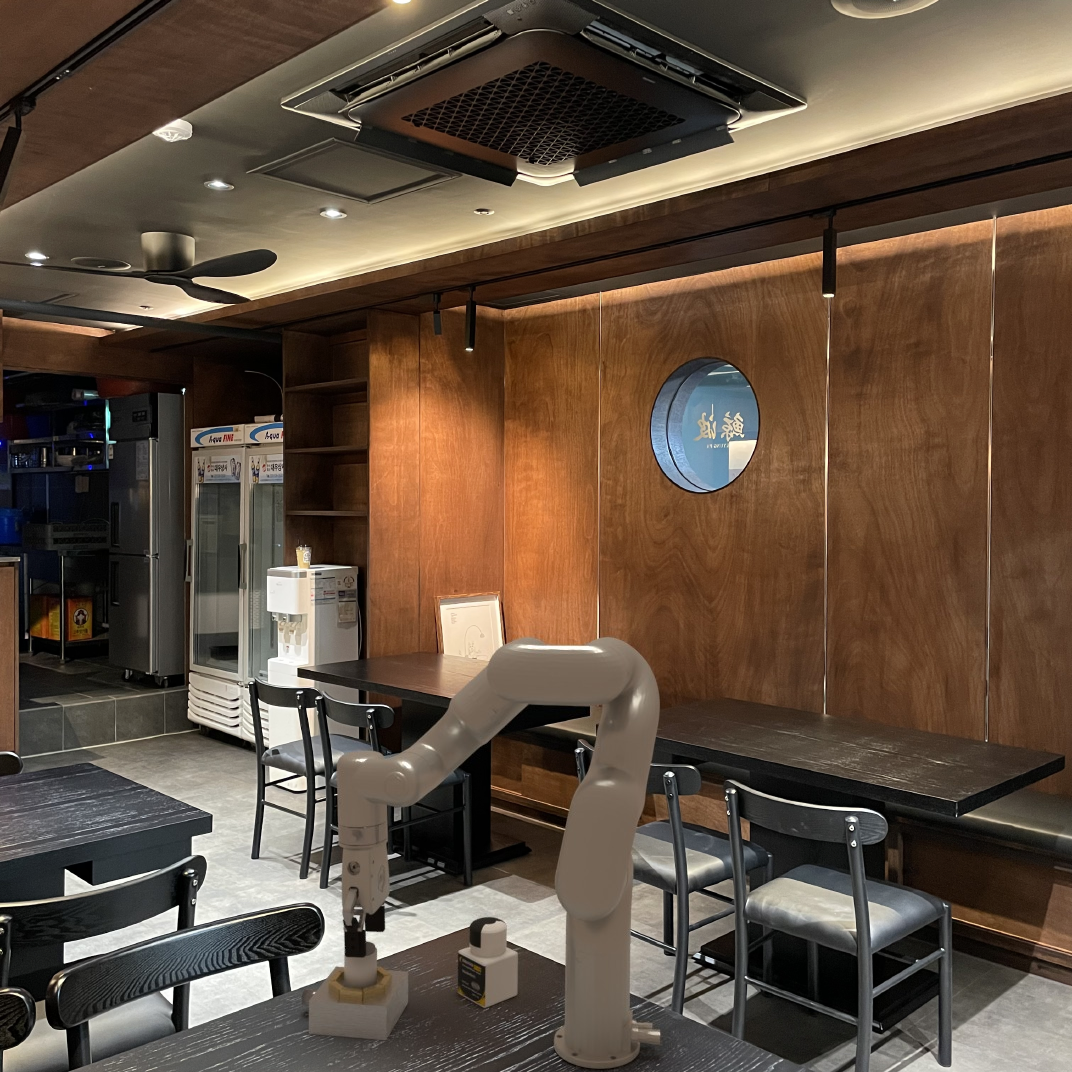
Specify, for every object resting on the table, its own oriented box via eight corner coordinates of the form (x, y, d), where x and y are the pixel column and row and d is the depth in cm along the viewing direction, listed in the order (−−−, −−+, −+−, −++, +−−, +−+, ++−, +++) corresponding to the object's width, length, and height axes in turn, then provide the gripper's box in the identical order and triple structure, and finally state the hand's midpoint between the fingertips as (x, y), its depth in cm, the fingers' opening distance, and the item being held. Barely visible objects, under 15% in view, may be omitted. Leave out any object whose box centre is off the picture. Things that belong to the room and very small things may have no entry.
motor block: (407, 1002, 161) (408, 964, 161) (386, 1040, 149) (386, 998, 149) (317, 995, 163) (318, 957, 163) (289, 1032, 151) (290, 991, 151)
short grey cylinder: (380, 979, 158) (381, 941, 158) (371, 994, 153) (371, 954, 153) (350, 977, 158) (350, 939, 158) (339, 991, 153) (339, 952, 153)
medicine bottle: (456, 993, 164) (457, 920, 164) (490, 980, 169) (491, 909, 169) (484, 1009, 159) (485, 933, 159) (518, 995, 164) (519, 922, 164)
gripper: (369, 850, 146) (372, 968, 146) (401, 817, 163) (404, 923, 163) (320, 849, 147) (322, 966, 147) (357, 817, 165) (359, 921, 164)
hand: (365, 943), depth 155 cm, fingers open, 9 cm apart
